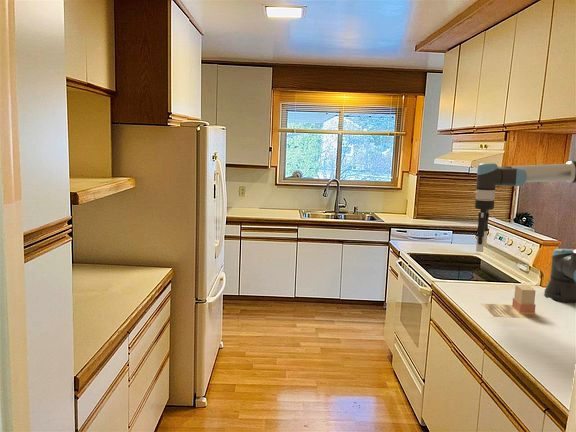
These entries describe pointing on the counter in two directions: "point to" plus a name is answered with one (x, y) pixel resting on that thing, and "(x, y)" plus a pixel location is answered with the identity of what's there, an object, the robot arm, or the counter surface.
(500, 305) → the board
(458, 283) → the counter surface
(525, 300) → the block
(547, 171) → the robot arm
